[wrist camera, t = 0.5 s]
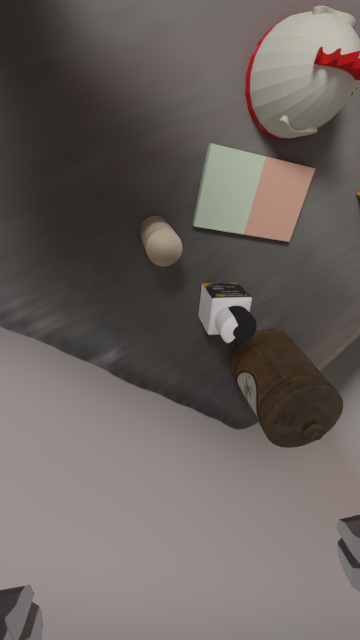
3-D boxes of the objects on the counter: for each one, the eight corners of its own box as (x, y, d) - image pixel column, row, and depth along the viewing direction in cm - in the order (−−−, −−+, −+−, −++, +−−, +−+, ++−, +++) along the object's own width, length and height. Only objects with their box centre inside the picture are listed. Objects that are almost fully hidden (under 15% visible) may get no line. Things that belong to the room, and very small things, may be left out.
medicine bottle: (237, 281, 59) (265, 311, 49) (232, 315, 62) (256, 349, 52) (201, 282, 57) (222, 312, 47) (197, 316, 61) (216, 351, 51)
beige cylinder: (141, 213, 49) (149, 227, 41) (172, 218, 51) (185, 233, 42) (137, 244, 52) (143, 264, 43) (166, 248, 53) (178, 268, 44)
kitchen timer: (311, 148, 50) (382, 150, 37) (233, 125, 46) (282, 118, 33) (351, 38, 44) (452, -5, 31) (265, 0, 40) (340, -67, 27)
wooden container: (216, 361, 67) (259, 445, 49) (271, 316, 64) (338, 387, 46) (253, 393, 75) (302, 477, 56) (303, 354, 72) (373, 429, 53)
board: (208, 143, 46) (211, 143, 45) (311, 168, 51) (315, 168, 50) (192, 224, 52) (193, 226, 51) (286, 240, 57) (289, 241, 56)
